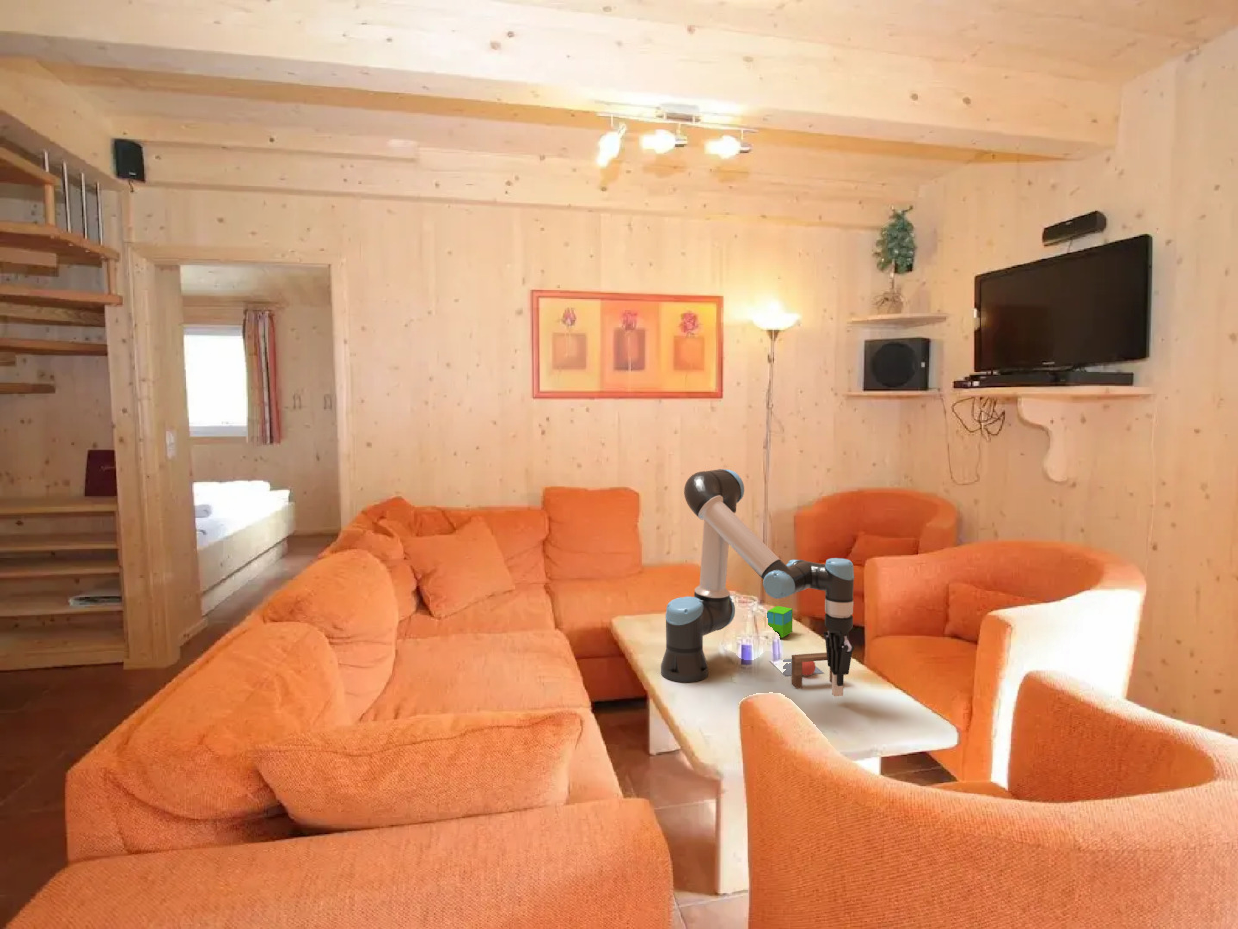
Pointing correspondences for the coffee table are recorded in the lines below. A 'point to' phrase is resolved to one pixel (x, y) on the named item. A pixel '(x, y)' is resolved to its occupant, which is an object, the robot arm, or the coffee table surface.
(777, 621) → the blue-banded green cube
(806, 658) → the bridge
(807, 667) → the ball
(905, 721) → the coffee table surface
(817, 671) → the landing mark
